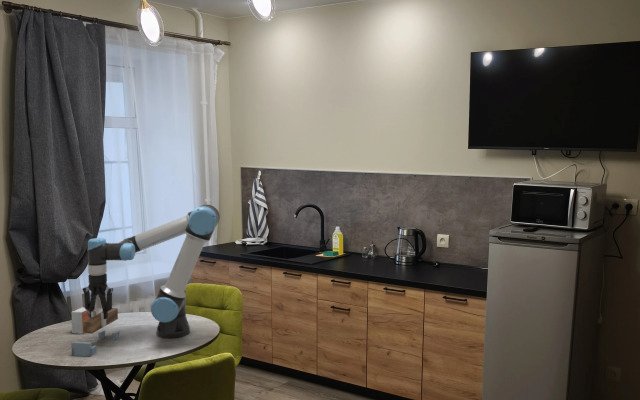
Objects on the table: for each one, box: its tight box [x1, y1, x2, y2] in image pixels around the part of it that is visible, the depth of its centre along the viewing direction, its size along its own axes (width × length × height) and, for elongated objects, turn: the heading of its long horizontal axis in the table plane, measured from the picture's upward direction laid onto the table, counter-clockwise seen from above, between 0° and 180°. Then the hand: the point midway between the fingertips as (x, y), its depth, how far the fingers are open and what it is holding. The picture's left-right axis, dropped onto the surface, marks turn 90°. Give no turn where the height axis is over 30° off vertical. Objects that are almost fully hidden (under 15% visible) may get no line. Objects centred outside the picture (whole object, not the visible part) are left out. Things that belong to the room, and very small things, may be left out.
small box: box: [71, 306, 90, 335], centre depth 266 cm, size 8×6×10 cm
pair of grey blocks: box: [97, 329, 120, 341], centre depth 256 cm, size 8×4×3 cm, turn 81°
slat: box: [83, 307, 119, 334], centre depth 249 cm, size 4×22×5 cm, turn 172°
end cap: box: [70, 341, 97, 357], centre depth 236 cm, size 8×5×6 cm, turn 81°
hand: (98, 325), depth 248 cm, fingers closed on slat, 4 cm apart
